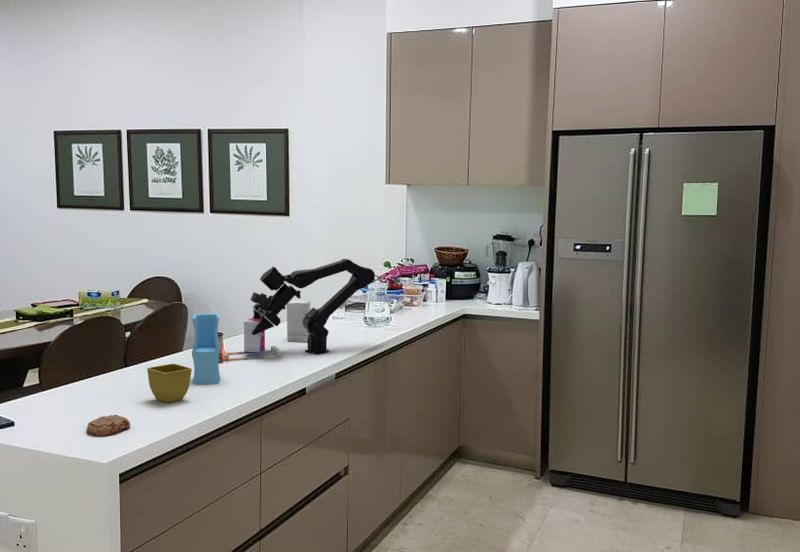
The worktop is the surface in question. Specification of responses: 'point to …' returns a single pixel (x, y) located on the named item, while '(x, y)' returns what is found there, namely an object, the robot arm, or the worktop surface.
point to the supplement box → (253, 338)
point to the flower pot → (169, 381)
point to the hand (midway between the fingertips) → (250, 332)
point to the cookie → (107, 425)
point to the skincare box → (297, 321)
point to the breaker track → (273, 349)
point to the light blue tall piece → (206, 349)
